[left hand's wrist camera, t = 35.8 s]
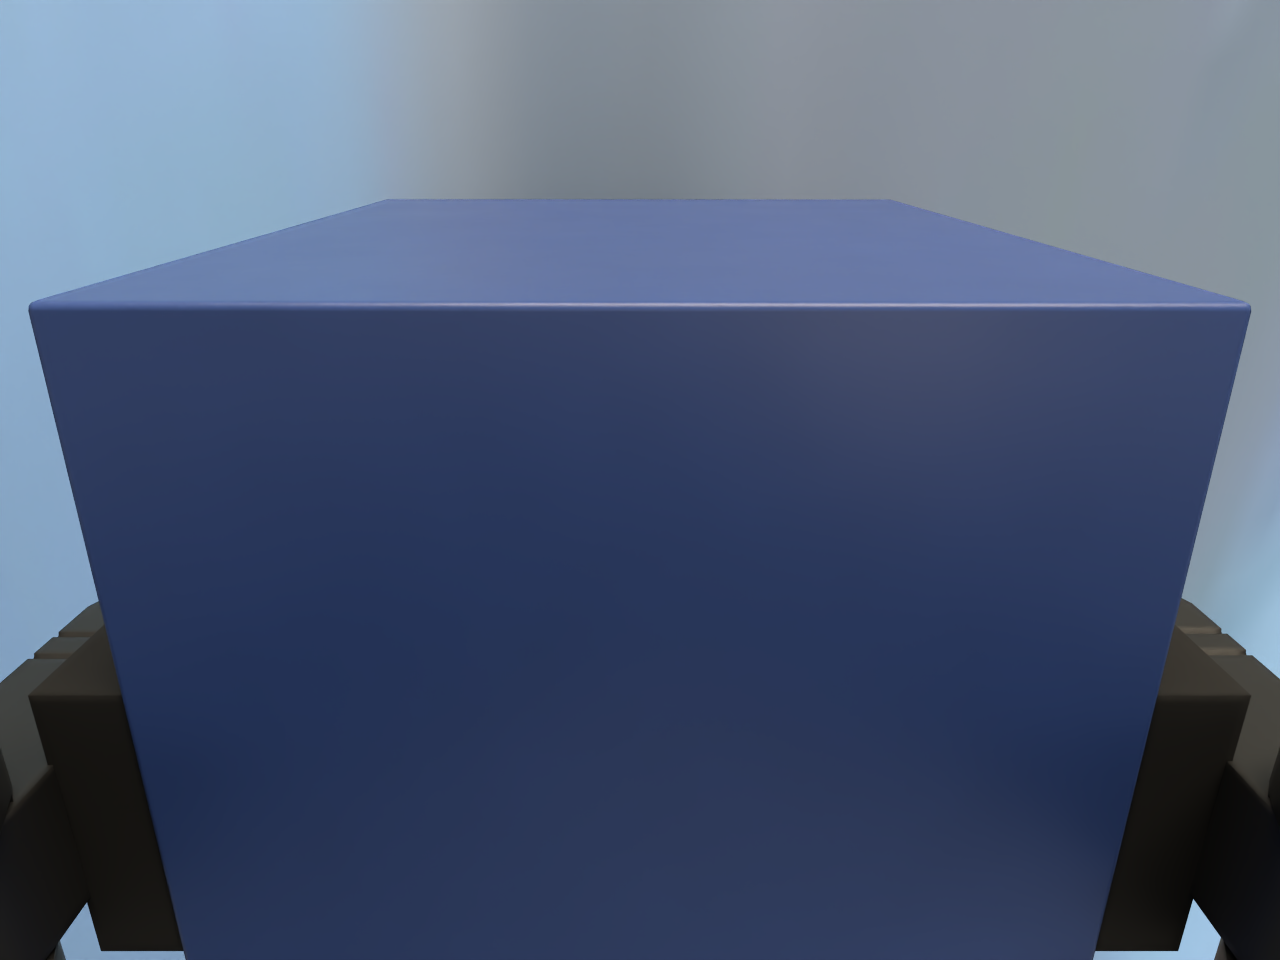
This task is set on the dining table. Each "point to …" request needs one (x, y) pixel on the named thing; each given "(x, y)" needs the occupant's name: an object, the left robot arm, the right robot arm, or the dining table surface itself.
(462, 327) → the block
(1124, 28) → the dining table surface
